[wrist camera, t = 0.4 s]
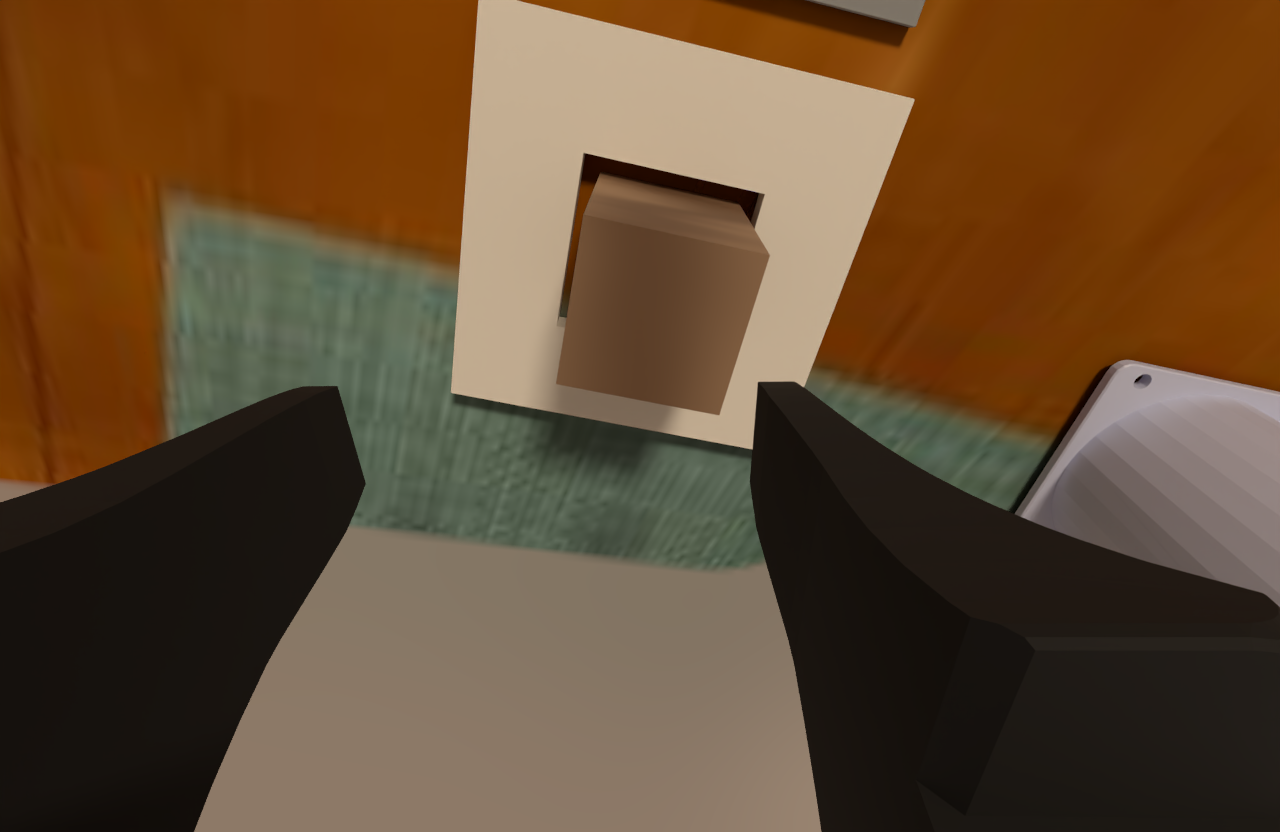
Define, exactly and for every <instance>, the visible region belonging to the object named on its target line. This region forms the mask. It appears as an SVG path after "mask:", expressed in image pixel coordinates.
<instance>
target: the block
mask: <svg viewBox="0 0 1280 832" xmlns="http://www.w3.org/2000/svg"><path fill="white" fill-rule="evenodd" d="M769 257H770V254H769V253H768V251H767V249H766V248H765V246H764V244H763V243H762V241H761V239H760V238H759V236H758V234H757V233H756V231H755V229H754V228H753V226H752V224H751V223H750V221H749V219H748V218H747V216H746V214H745V213H744V211H743V209H742V208H741V206H740V204H739V203H738V202H735V201H730V200H726V199H721V198H717V197H713V196H708V195H704V194H699V193H695V192H690V191H686V190H681V189H677V188H673V187H668V186H664V185H659V184H655V183H650V182H646V181H642V180H637V179H633V178H628V177H624V176H619V175H615V174H610V173H606V172H602V171H601V172H600V175H599V177H598V180H597V182H596V185H595V187H594V190H593V192H592V195H591V197H590V200H589V202H588V204H587V207H586V209H585V212H584V214H583V220H582V226H581V233H580V239H579V245H578V251H577V257H576V263H575V269H574V276H573V282H572V288H571V294H570V300H569V306H568V312H567V318H566V325H565V331H564V337H563V343H562V349H561V355H560V361H559V368H558V374H557V380H556V384H558V385H563V386H568V387H573V388H579V389H584V390H589V391H594V392H599V393H605V394H610V395H615V396H620V397H625V398H631V399H636V400H641V401H646V402H652V403H657V404H662V405H667V406H672V407H678V408H683V409H688V410H693V411H698V412H704V413H709V414H714V415H719V414H720V411H721V408H722V405H723V402H724V399H725V396H726V392H727V389H728V386H729V383H730V380H731V377H732V374H733V370H734V367H735V364H736V361H737V358H738V355H739V351H740V348H741V345H742V342H743V339H744V336H745V333H746V329H747V326H748V323H749V320H750V317H751V314H752V310H753V307H754V304H755V301H756V298H757V295H758V292H759V288H760V285H761V282H762V279H763V276H764V273H765V269H766V266H767V263H768V260H769Z"/></svg>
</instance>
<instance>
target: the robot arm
mask: <svg viewBox="0 0 1280 832" xmlns="http://www.w3.org/2000/svg"><path fill="white" fill-rule="evenodd" d="M1141 375H1143V376H1142V378H1141V379H1140V380H1139V381H1138V382H1135V383H1134V381H1135V380H1136V379H1137V378H1138V377H1139V376H1141ZM365 484H366V483H365V479H364V476H363V473H362V469H361V466H360V462H359V459H358V455H357V452H356V448H355V445H354V442H353V438H352V435H351V431H350V428H349V424H348V421H347V417H346V414H345V411H344V407H343V404H342V400H341V397H340V393H339V390H338V386H308V387H299V388H296V389H292V390H289V391H286V392H283V393H280V394H277V395H275V396H272V397H269V398H267V399H264V400H262V401H259V402H257V403H255V404H252V405H250V406H247V407H245V408H243V409H240V410H238V411H236V412H234V413H231V414H229V415H227V416H224V417H222V418H220V419H218V420H215V421H213V422H211V423H208V424H206V425H204V426H202V427H199V428H197V429H195V430H192V431H190V432H188V433H186V434H183V435H181V436H179V437H176V438H174V439H171V440H169V441H167V442H164V443H162V444H159V445H157V446H154V447H152V448H149V449H147V450H145V451H142V452H140V453H137V454H135V455H132V456H130V457H128V458H125V459H123V460H120V461H118V462H115V463H113V464H110V465H108V466H105V467H103V468H100V469H97V470H95V471H92V472H89V473H87V474H84V475H81V476H78V477H76V478H73V479H70V480H67V481H64V482H61V483H58V484H55V485H52V486H49V487H46V488H43V489H40V490H38V491H35V492H32V493H29V494H26V495H23V496H19V497H17V498H13V499H10V500H7V501H4V502H0V832H194V830H195V827H196V825H197V822H198V820H199V817H200V815H201V812H202V810H203V807H204V804H205V802H206V799H207V797H208V794H209V792H210V789H211V787H212V784H213V782H214V779H215V777H216V775H217V773H218V770H219V767H220V766H221V763H222V761H223V759H224V756H225V754H226V751H227V749H228V747H229V745H230V742H231V740H232V738H233V736H234V733H235V731H236V729H237V726H238V724H239V722H240V720H241V717H242V715H243V713H244V711H245V709H246V707H247V705H248V703H249V700H250V698H251V696H252V694H253V692H254V690H255V688H256V686H257V684H258V682H259V679H260V677H261V675H262V673H263V671H264V669H265V667H266V665H267V663H268V661H269V659H270V658H271V656H272V654H273V652H274V650H275V648H276V647H277V645H278V643H279V641H280V639H281V638H282V636H283V635H284V633H285V631H286V630H287V628H288V626H289V625H290V623H291V622H292V620H293V618H294V617H295V615H296V613H297V612H298V610H299V608H300V607H301V605H302V604H303V602H304V600H305V599H306V597H307V595H308V594H309V592H310V591H311V589H312V587H313V586H314V584H315V583H316V581H317V579H318V578H319V576H320V574H321V573H322V571H323V570H324V568H325V566H326V565H327V563H328V561H329V560H330V558H331V556H332V555H333V553H334V551H335V550H336V548H337V546H338V545H339V543H340V541H341V539H342V538H343V536H344V534H345V533H346V530H347V528H348V526H349V524H350V522H351V519H352V517H353V515H354V512H355V510H356V508H357V505H358V502H359V500H360V497H361V495H362V492H363V489H364V487H365ZM750 485H751V493H752V500H753V508H754V514H755V521H756V527H757V532H758V535H759V539H760V543H761V546H762V550H763V553H764V557H765V560H766V564H767V568H768V571H769V574H770V578H771V581H772V585H773V588H774V592H775V595H776V599H777V602H778V606H779V609H780V612H781V616H782V619H783V623H784V626H785V630H786V633H787V637H788V640H789V645H790V649H791V653H792V656H793V661H794V666H795V671H796V676H797V682H798V688H799V694H800V700H801V705H802V711H803V716H804V722H805V728H806V734H807V741H808V747H809V753H810V759H811V765H812V771H813V778H814V784H815V790H816V797H817V804H818V809H819V810H818V811H819V817H820V824H821V831H822V832H1280V392H1278V391H1273V390H1268V389H1264V388H1259V387H1254V386H1250V385H1245V384H1240V383H1236V382H1231V381H1226V380H1222V379H1217V378H1212V377H1208V376H1203V375H1198V374H1194V373H1189V372H1184V371H1180V370H1175V369H1170V368H1166V367H1161V366H1156V365H1152V364H1147V363H1142V362H1137V361H1133V360H1122V361H1119V362H1117V363H1115V364H1114V365H1112V366H1111V367H1110V368H1109V369H1108V370H1107V372H1106V373H1105V375H1104V377H1103V378H1102V380H1101V381H1100V383H1099V384H1098V386H1097V387H1096V389H1095V390H1094V392H1093V394H1092V395H1091V397H1090V398H1089V400H1088V401H1087V403H1086V404H1085V406H1084V407H1083V409H1082V411H1081V412H1080V414H1079V415H1078V417H1077V418H1076V420H1075V421H1074V423H1073V424H1072V426H1071V428H1070V429H1069V431H1068V432H1067V434H1066V435H1065V437H1064V438H1063V440H1062V441H1061V443H1060V445H1059V446H1058V448H1057V449H1056V451H1055V452H1054V454H1053V455H1052V457H1051V458H1050V460H1049V462H1048V463H1047V465H1046V466H1045V468H1044V469H1043V471H1042V472H1041V474H1040V475H1039V477H1038V479H1037V480H1036V482H1035V483H1034V485H1033V486H1032V488H1031V489H1030V491H1029V492H1028V494H1027V496H1026V497H1025V499H1024V500H1023V502H1022V503H1021V505H1020V506H1019V508H1018V509H1017V511H1016V513H1015V514H1013V513H1011V512H1008V511H1006V510H1003V509H1001V508H999V507H996V506H994V505H992V504H990V503H987V502H985V501H983V500H981V499H979V498H977V497H974V496H972V495H970V494H968V493H966V492H964V491H962V490H960V489H958V488H956V487H954V486H953V485H951V484H949V483H947V482H945V481H943V480H941V479H939V478H937V477H935V476H933V475H931V474H929V473H928V472H926V471H924V470H922V469H921V468H919V467H917V466H915V465H914V464H912V463H910V462H909V461H907V460H906V459H904V458H902V457H901V456H899V455H898V454H896V453H894V452H893V451H891V450H890V449H888V448H887V447H885V446H883V445H882V444H880V443H879V442H877V441H876V440H874V439H873V438H871V437H870V436H869V435H867V434H866V433H864V432H863V431H861V430H860V429H859V428H857V427H856V426H854V425H853V424H852V423H850V422H849V421H848V420H846V419H845V418H844V417H842V416H841V415H840V414H838V413H837V412H835V411H834V410H833V409H832V408H830V407H829V406H828V405H826V404H825V403H824V402H822V401H821V400H820V399H818V398H817V397H816V396H815V395H813V394H812V393H811V392H809V391H808V390H807V389H805V388H804V387H802V386H801V385H799V384H798V383H796V382H794V381H784V382H758V387H757V399H756V412H755V424H754V437H753V449H752V462H751V474H750Z"/></svg>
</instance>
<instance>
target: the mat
mask: <svg viewBox="0 0 1280 832" xmlns="http://www.w3.org/2000/svg"><path fill="white" fill-rule="evenodd" d="M806 1H810V2H814V3H818V4H821V5H825V6H829V7H833V8H837V9H841V10H845V11H848V12H852V13H856V14H860V15H864V16H868V17H872V18H875V19H879V20H883V21H887V22H891V23H895V24H899V25H902V26H906V27H916V24H917V22H918V19H919V16H920V13H921V11H922V8H923V5H924V2H925V0H806Z"/></svg>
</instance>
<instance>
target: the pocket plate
mask: <svg viewBox="0 0 1280 832" xmlns="http://www.w3.org/2000/svg"><path fill="white" fill-rule="evenodd" d="M914 100H915V99H912V98H908V97H904V96H900V95H896V94H892V93H888V92H884V91H880V90H876V89H872V88H868V87H864V86H860V85H856V84H852V83H848V82H844V81H840V80H835V79H831V78H827V77H823V76H819V75H815V74H811V73H807V72H803V71H799V70H795V69H791V68H787V67H783V66H779V65H775V64H771V63H767V62H763V61H759V60H755V59H751V58H747V57H743V56H739V55H735V54H731V53H727V52H723V51H719V50H714V49H710V48H706V47H702V46H698V45H694V44H690V43H686V42H682V41H678V40H674V39H670V38H666V37H662V36H658V35H654V34H650V33H646V32H642V31H638V30H634V29H630V28H626V27H622V26H618V25H614V24H610V23H606V22H602V21H598V20H593V19H589V18H585V17H581V16H577V15H573V14H569V13H565V12H561V11H557V10H553V9H549V8H545V7H541V6H537V5H533V4H529V3H525V2H521V1H517V0H479V1H478V15H477V29H476V44H475V58H474V72H473V86H472V101H471V115H470V129H469V143H468V158H467V172H466V186H465V200H464V215H463V229H462V243H461V257H460V272H459V286H458V300H457V314H456V329H455V343H454V357H453V371H452V386H451V393H454V394H460V395H465V396H470V397H476V398H481V399H486V400H492V401H497V402H502V403H508V404H513V405H518V406H524V407H529V408H534V409H540V410H545V411H550V412H556V413H561V414H566V415H572V416H577V417H582V418H587V419H593V420H598V421H603V422H609V423H614V424H619V425H625V426H630V427H635V428H641V429H646V430H651V431H657V432H662V433H667V434H673V435H678V436H683V437H689V438H694V439H699V440H705V441H710V442H715V443H721V444H726V445H731V446H737V447H742V448H747V449H753V437H754V424H755V412H756V399H757V387H758V382H784V381H794V382H796V383H798V384H799V385H801V386H802V387H804V386H805V383H806V380H807V378H808V375H809V373H810V370H811V367H812V365H813V362H814V360H815V357H816V354H817V352H818V349H819V347H820V344H821V342H822V339H823V336H824V334H825V331H826V329H827V326H828V323H829V321H830V318H831V316H832V313H833V310H834V308H835V305H836V303H837V300H838V297H839V295H840V292H841V290H842V287H843V284H844V282H845V279H846V277H847V274H848V271H849V269H850V266H851V264H852V261H853V258H854V256H855V253H856V251H857V248H858V246H859V243H860V240H861V238H862V235H863V233H864V230H865V227H866V225H867V222H868V220H869V217H870V214H871V212H872V209H873V207H874V204H875V201H876V199H877V196H878V194H879V191H880V188H881V186H882V183H883V181H884V178H885V175H886V173H887V170H888V168H889V165H890V162H891V160H892V157H893V155H894V152H895V149H896V147H897V144H898V142H899V139H900V137H901V134H902V131H903V129H904V126H905V124H906V121H907V118H908V116H909V113H910V111H911V108H912V105H913V103H914ZM585 153H587V154H591V155H595V156H600V157H604V158H609V159H613V160H617V161H622V162H626V163H630V164H635V165H639V166H644V167H648V168H652V169H657V170H661V171H666V172H670V173H674V174H679V175H683V176H688V177H692V178H696V179H701V180H705V181H710V182H714V183H718V184H723V185H727V186H732V187H736V188H740V189H745V190H749V191H754V192H758V193H759V195H758V199H757V202H756V205H755V209H754V212H753V216H752V219H751V222H750V223H751V224H752V226H753V228H754V229H755V231H756V233H757V234H758V236H759V238H760V239H761V241H762V243H763V244H764V246H765V248H766V249H767V251H768V253H769V254H770V257H769V260H768V263H767V266H766V269H765V273H764V276H763V279H762V282H761V285H760V288H759V292H758V295H757V298H756V301H755V304H754V307H753V310H752V314H751V317H750V320H749V323H748V326H747V329H746V333H745V336H744V339H743V342H742V345H741V348H740V351H739V355H738V358H737V361H736V364H735V367H734V370H733V374H732V377H731V380H730V383H729V386H728V389H727V392H726V396H725V399H724V402H723V405H722V408H721V411H720V414H719V415H714V414H709V413H704V412H698V411H693V410H688V409H683V408H678V407H672V406H667V405H662V404H657V403H652V402H646V401H641V400H636V399H631V398H625V397H620V396H615V395H610V394H605V393H599V392H594V391H589V390H584V389H579V388H573V387H568V386H563V385H558V384H556V380H557V374H558V368H559V361H560V355H561V349H562V343H563V337H564V331H565V325H566V318H565V317H560V312H561V305H562V299H563V293H564V286H565V280H566V274H567V267H568V261H569V254H570V248H571V242H572V235H573V229H574V223H575V216H576V210H577V204H578V197H579V191H580V184H581V178H582V172H583V165H584V159H585Z"/></svg>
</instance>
